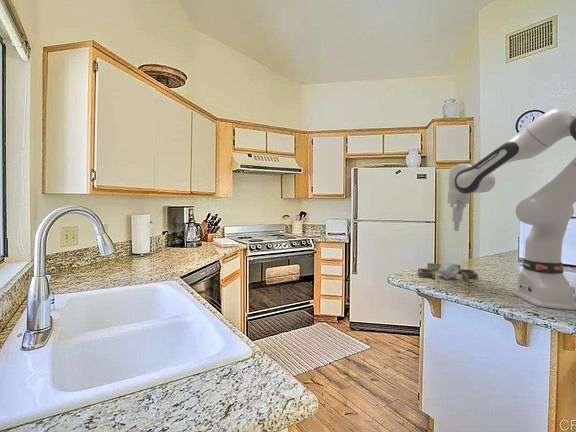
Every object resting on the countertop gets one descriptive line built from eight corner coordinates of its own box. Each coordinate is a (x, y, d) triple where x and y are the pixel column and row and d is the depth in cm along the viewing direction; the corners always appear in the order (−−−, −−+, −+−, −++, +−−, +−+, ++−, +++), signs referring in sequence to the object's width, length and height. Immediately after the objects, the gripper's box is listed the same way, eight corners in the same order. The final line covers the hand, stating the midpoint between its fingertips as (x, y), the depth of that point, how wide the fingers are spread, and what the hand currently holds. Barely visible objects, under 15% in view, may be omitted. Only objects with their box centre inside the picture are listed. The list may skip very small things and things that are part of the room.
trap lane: (481, 283, 143) (481, 274, 143) (420, 278, 151) (420, 270, 151) (471, 273, 161) (471, 265, 161) (416, 269, 169) (416, 262, 169)
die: (434, 279, 152) (444, 266, 146) (435, 267, 158) (445, 254, 152) (452, 286, 150) (462, 273, 144) (452, 274, 156) (462, 261, 150)
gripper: (466, 200, 134) (464, 232, 135) (466, 199, 152) (464, 228, 153) (449, 199, 137) (448, 231, 138) (451, 199, 155) (449, 227, 156)
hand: (456, 229), depth 145 cm, fingers open, 8 cm apart
